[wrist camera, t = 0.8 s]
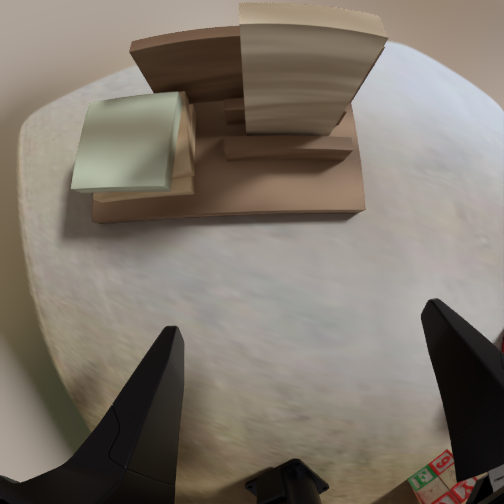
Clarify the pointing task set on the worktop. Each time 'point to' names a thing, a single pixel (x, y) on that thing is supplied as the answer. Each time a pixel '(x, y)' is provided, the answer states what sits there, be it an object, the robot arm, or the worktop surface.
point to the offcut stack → (137, 148)
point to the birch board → (303, 64)
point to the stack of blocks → (441, 482)
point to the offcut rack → (239, 141)
